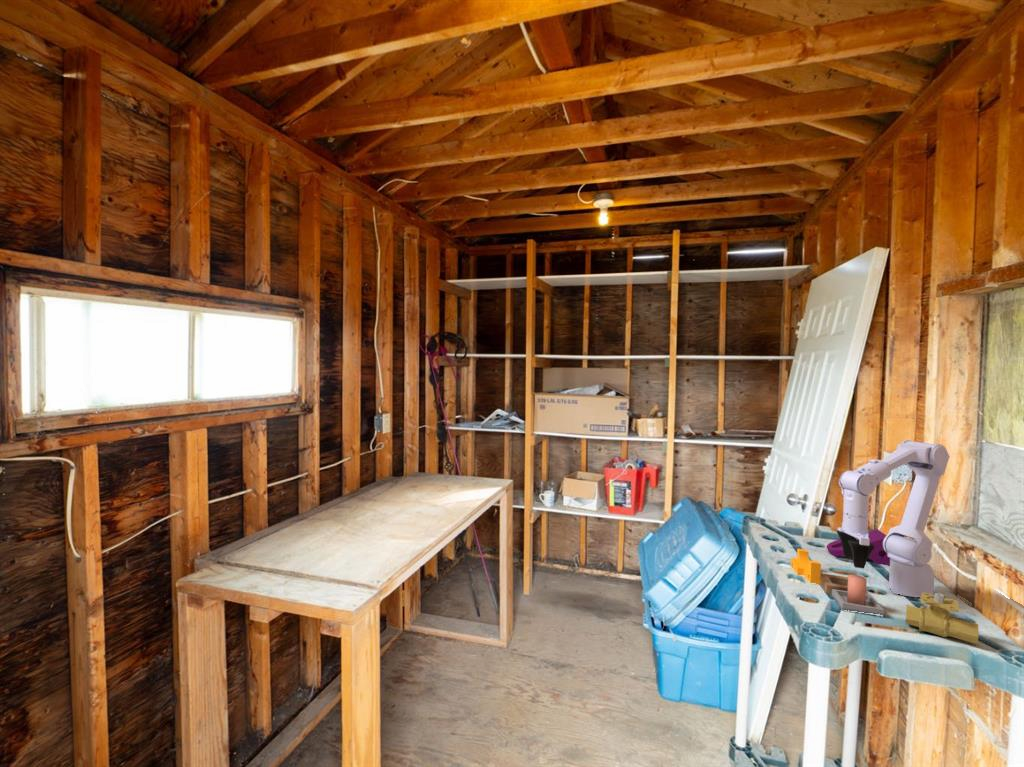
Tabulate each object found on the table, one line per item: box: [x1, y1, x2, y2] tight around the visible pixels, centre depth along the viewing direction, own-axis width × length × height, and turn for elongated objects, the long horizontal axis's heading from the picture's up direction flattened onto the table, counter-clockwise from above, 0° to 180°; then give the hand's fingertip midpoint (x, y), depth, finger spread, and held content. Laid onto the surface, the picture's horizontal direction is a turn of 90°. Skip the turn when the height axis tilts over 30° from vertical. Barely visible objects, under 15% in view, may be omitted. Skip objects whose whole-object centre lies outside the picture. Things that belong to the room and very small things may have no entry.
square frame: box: [819, 572, 848, 595], centre depth 134 cm, size 9×9×2 cm
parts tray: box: [831, 589, 885, 616], centre depth 124 cm, size 9×9×2 cm
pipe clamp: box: [790, 548, 822, 586], centre depth 144 cm, size 12×4×6 cm, turn 165°
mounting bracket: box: [826, 528, 890, 566], centre depth 161 cm, size 9×8×18 cm
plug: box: [847, 574, 868, 606], centre depth 124 cm, size 4×4×7 cm
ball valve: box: [905, 592, 979, 645], centre depth 112 cm, size 13×10×10 cm
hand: (853, 562), depth 130 cm, fingers open, 7 cm apart
